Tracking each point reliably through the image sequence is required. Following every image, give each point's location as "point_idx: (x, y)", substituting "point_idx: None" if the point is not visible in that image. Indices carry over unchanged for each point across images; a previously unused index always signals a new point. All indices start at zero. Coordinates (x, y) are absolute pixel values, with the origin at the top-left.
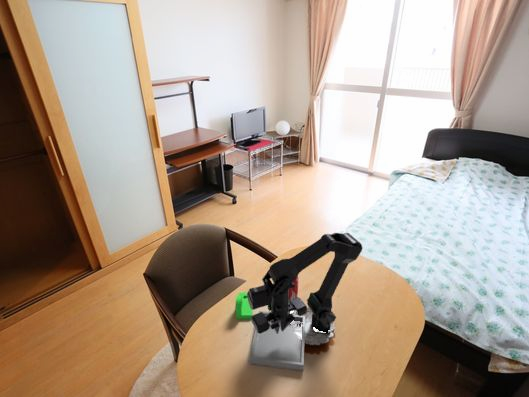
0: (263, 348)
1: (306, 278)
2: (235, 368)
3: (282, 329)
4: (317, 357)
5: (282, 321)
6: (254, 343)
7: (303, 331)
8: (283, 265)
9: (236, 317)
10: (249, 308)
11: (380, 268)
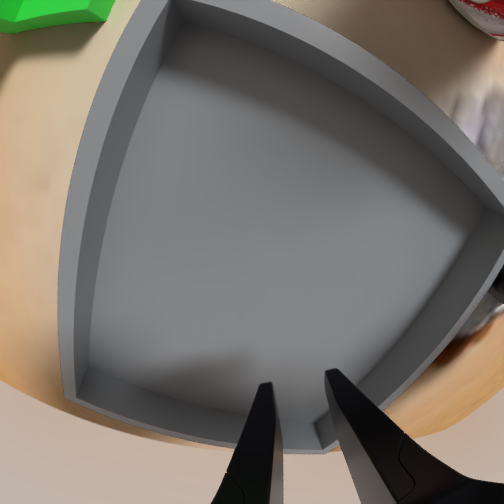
0: (147, 332)
1: None
2: (31, 354)
3: (332, 417)
4: None
5: (371, 488)
6: (72, 346)
7: (454, 332)
8: None
9: (3, 32)
10: None
11: None
